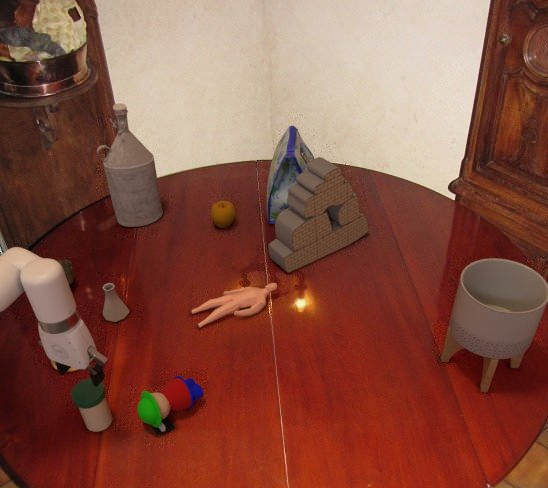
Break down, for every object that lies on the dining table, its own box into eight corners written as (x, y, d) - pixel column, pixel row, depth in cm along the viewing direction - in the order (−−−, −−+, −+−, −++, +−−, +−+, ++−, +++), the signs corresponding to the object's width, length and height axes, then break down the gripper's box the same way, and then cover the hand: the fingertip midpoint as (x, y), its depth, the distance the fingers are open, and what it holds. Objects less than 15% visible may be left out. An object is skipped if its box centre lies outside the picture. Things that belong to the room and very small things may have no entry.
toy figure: (186, 394, 139) (131, 419, 130) (184, 363, 134) (127, 387, 126) (206, 413, 133) (150, 441, 125) (206, 382, 128) (147, 409, 120)
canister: (110, 215, 196) (81, 104, 170) (158, 202, 202) (137, 93, 175) (119, 233, 188) (90, 120, 161) (168, 219, 193) (148, 108, 167)
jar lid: (70, 410, 122) (68, 405, 120) (74, 385, 127) (72, 380, 126) (104, 406, 122) (102, 401, 121) (107, 381, 127) (105, 376, 126)
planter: (443, 388, 135) (465, 309, 118) (437, 333, 149) (456, 255, 132) (524, 395, 133) (559, 316, 116) (511, 339, 147) (540, 260, 129)
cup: (49, 295, 165) (41, 274, 159) (57, 279, 170) (50, 258, 165) (74, 295, 164) (67, 274, 159) (82, 279, 170) (75, 258, 165)
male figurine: (187, 300, 156) (268, 270, 162) (190, 312, 160) (270, 283, 166) (198, 324, 149) (283, 292, 155) (202, 337, 152) (285, 305, 158)
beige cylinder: (83, 433, 128) (71, 404, 121) (87, 411, 133) (75, 383, 126) (111, 430, 129) (100, 401, 122) (113, 408, 133) (103, 379, 126)
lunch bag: (315, 226, 188) (317, 155, 171) (265, 226, 189) (262, 155, 171) (314, 192, 205) (316, 123, 187) (269, 191, 205) (266, 124, 188)
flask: (115, 326, 154) (106, 298, 148) (98, 315, 158) (89, 288, 151) (134, 311, 159) (127, 284, 152) (117, 301, 162) (110, 274, 155)
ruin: (347, 219, 189) (346, 138, 168) (368, 233, 183) (370, 151, 162) (266, 262, 177) (255, 181, 156) (286, 279, 171) (276, 197, 150)
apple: (227, 235, 185) (225, 213, 179) (206, 228, 189) (203, 206, 183) (241, 222, 191) (239, 200, 185) (220, 216, 194) (218, 194, 188)
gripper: (10, 318, 109) (39, 377, 120) (83, 341, 103) (105, 400, 115) (36, 295, 114) (61, 353, 125) (107, 315, 108) (126, 374, 120)
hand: (82, 376), depth 120 cm, fingers open, 8 cm apart
